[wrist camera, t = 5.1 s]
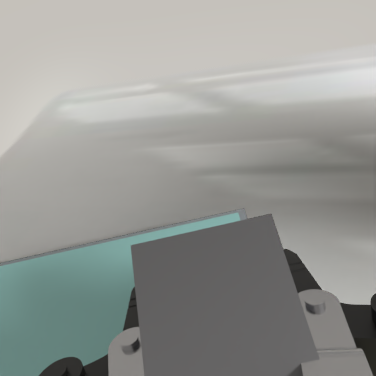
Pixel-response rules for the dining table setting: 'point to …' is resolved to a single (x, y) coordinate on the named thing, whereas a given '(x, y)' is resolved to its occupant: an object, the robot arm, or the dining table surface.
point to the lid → (162, 303)
